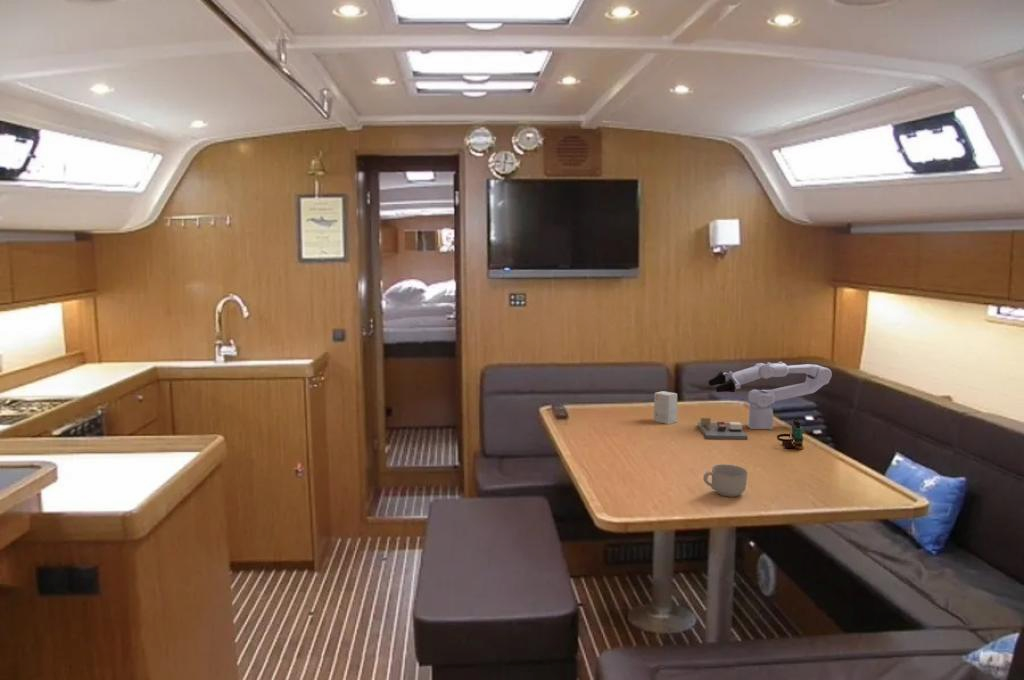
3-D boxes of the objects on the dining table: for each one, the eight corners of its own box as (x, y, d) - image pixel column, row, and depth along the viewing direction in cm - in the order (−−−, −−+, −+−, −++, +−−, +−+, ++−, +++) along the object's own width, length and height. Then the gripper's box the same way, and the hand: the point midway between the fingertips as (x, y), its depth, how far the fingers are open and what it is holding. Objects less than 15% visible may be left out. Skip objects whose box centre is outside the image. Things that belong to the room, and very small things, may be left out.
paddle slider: (709, 424, 316) (709, 417, 316) (710, 425, 314) (710, 418, 314) (699, 424, 317) (700, 417, 316) (700, 425, 315) (700, 418, 314)
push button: (739, 426, 310) (739, 422, 309) (741, 429, 305) (741, 424, 305) (728, 426, 310) (728, 421, 310) (730, 429, 306) (730, 424, 305)
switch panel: (735, 426, 320) (735, 420, 320) (747, 439, 299) (747, 433, 298) (697, 425, 322) (698, 420, 322) (706, 439, 300) (706, 432, 300)
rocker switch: (723, 424, 310) (724, 421, 310) (726, 429, 306) (726, 426, 305) (717, 424, 310) (717, 421, 310) (719, 429, 306) (719, 426, 305)
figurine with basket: (774, 419, 292) (801, 417, 290) (776, 445, 293) (803, 444, 291) (777, 424, 283) (805, 422, 281) (779, 451, 284) (807, 450, 282)
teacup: (740, 488, 239) (740, 463, 238) (751, 499, 229) (752, 474, 228) (697, 488, 239) (697, 464, 238) (707, 500, 228) (707, 474, 227)
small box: (677, 422, 329) (677, 393, 327) (668, 424, 325) (668, 395, 323) (662, 419, 335) (663, 390, 333) (653, 421, 331) (654, 392, 329)
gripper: (734, 362, 321) (704, 372, 320) (748, 374, 307) (717, 384, 307) (736, 377, 323) (707, 386, 323) (751, 389, 309) (720, 399, 309)
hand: (712, 386), depth 315 cm, fingers open, 7 cm apart
